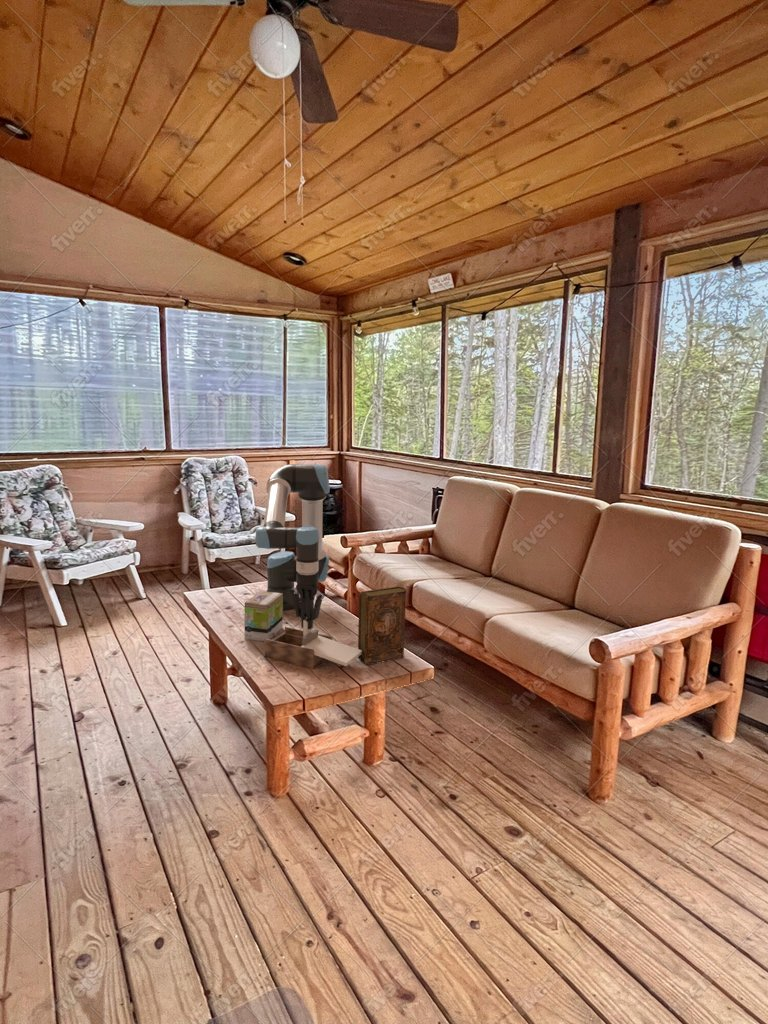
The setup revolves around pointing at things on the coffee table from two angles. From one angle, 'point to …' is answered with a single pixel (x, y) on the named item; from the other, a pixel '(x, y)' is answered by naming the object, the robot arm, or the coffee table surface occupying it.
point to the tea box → (263, 615)
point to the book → (381, 624)
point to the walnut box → (292, 649)
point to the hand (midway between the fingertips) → (307, 637)
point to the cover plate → (330, 649)
